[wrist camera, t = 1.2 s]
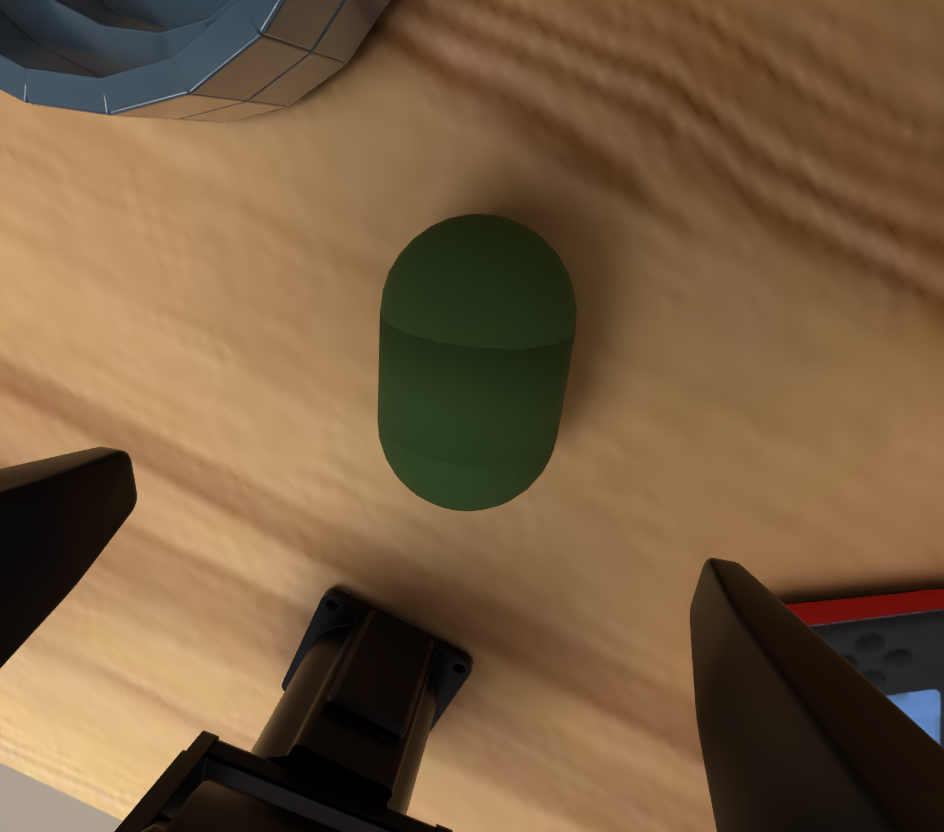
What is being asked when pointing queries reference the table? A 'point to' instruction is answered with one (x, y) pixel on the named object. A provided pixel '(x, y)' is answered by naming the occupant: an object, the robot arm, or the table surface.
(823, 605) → the game console
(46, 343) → the table surface
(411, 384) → the green rounded cylinder
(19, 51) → the bowl
